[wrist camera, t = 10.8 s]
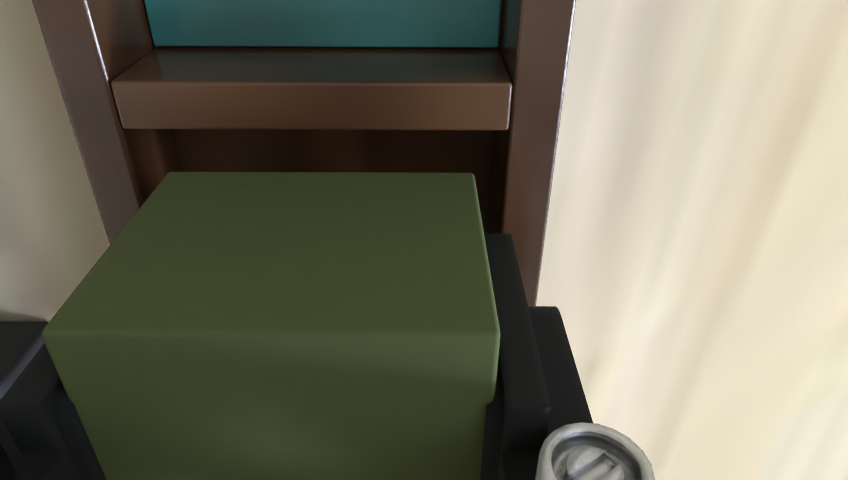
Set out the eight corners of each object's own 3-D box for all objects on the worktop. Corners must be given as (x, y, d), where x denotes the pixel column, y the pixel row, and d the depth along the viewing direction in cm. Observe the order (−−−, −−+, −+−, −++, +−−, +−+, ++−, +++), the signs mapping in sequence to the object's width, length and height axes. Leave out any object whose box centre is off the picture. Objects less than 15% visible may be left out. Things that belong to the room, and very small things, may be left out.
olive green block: (220, 389, 13) (147, 585, 9) (168, 170, 10) (37, 332, 7) (462, 389, 13) (477, 585, 9) (474, 170, 10) (501, 333, 7)
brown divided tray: (202, 348, 16) (167, 428, 13) (-17, -525, 8) (-189, -676, 6) (506, 348, 16) (520, 428, 14) (595, -519, 8) (664, -664, 6)
